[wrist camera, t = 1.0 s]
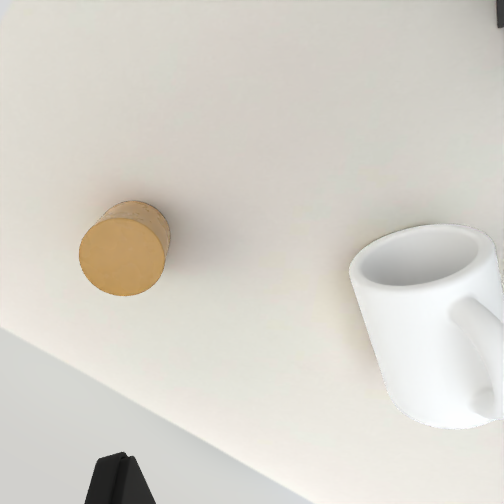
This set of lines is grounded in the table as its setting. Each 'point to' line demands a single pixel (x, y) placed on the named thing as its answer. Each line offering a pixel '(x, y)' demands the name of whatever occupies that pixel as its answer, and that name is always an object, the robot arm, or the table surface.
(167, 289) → the table surface
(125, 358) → the table surface
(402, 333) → the mug
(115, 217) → the wooden peg
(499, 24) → the dark grey open box
